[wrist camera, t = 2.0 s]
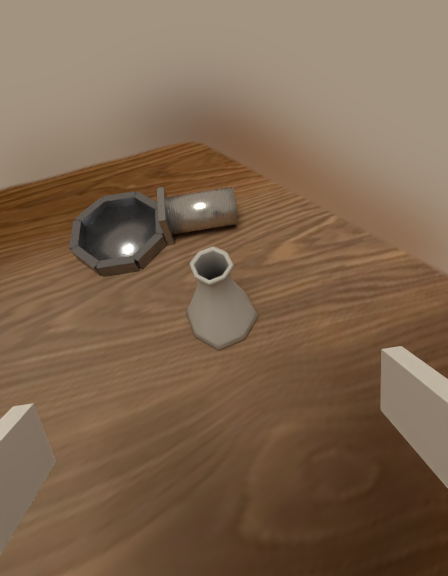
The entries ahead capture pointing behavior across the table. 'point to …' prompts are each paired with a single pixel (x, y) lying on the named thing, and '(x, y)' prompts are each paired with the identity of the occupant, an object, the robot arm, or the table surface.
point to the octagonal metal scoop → (144, 226)
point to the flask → (218, 301)
